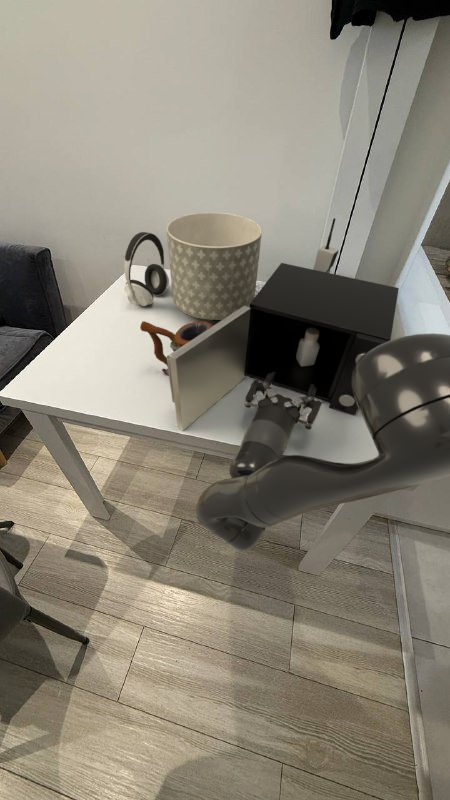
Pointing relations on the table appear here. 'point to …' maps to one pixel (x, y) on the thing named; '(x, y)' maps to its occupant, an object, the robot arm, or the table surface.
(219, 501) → the robot arm
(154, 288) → the headphones
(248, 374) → the microwave
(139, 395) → the table surface
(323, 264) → the vintage mobile phone
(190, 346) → the microwave door
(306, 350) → the pepper shaker
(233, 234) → the planter
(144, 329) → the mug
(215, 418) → the table surface
